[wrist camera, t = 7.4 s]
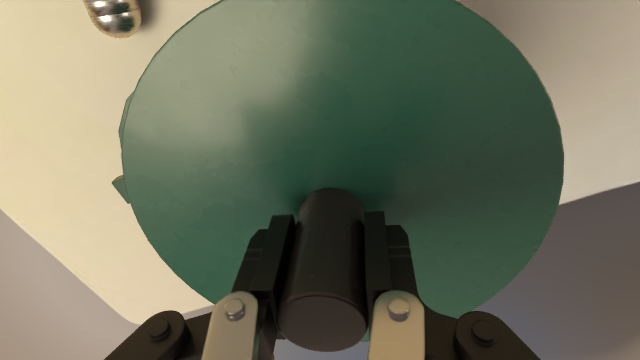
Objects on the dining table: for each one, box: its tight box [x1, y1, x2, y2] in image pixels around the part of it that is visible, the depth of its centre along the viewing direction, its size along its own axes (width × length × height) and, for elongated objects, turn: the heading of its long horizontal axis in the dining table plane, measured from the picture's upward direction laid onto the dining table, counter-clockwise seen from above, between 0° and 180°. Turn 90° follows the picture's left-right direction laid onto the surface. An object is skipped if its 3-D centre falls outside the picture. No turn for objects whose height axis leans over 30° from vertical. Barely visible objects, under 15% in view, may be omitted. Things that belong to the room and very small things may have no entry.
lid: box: [122, 0, 564, 352], centre depth 13 cm, size 17×17×6 cm
